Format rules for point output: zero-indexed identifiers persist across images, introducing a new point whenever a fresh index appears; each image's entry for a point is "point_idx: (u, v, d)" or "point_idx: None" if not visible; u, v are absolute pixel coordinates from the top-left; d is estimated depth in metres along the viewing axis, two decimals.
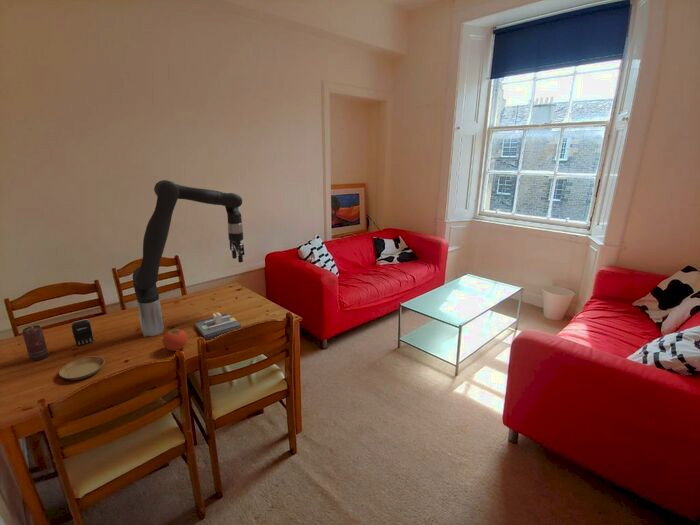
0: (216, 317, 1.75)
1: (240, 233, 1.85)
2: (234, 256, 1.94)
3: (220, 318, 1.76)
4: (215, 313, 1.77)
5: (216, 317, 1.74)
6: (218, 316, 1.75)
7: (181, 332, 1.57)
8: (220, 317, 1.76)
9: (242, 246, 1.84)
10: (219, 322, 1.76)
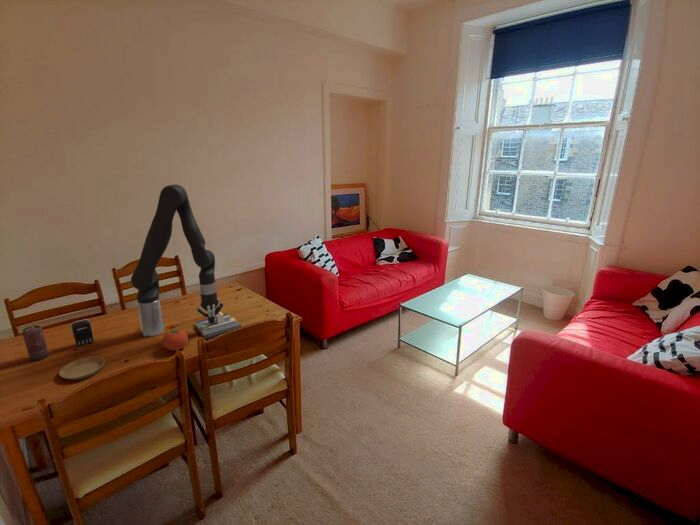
0: (218, 316, 1.75)
1: None
2: None
3: (222, 317, 1.77)
4: None
5: (218, 316, 1.75)
6: (220, 315, 1.76)
7: (181, 332, 1.57)
8: (222, 316, 1.77)
9: None
10: (221, 321, 1.77)
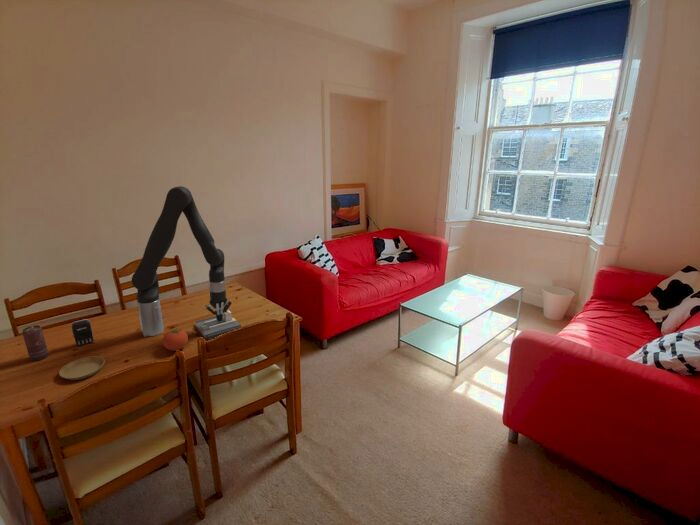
0: (226, 314, 1.78)
1: None
2: None
3: (230, 315, 1.79)
4: None
5: (226, 314, 1.77)
6: (228, 313, 1.78)
7: (181, 332, 1.57)
8: (230, 314, 1.79)
9: None
10: (229, 319, 1.79)
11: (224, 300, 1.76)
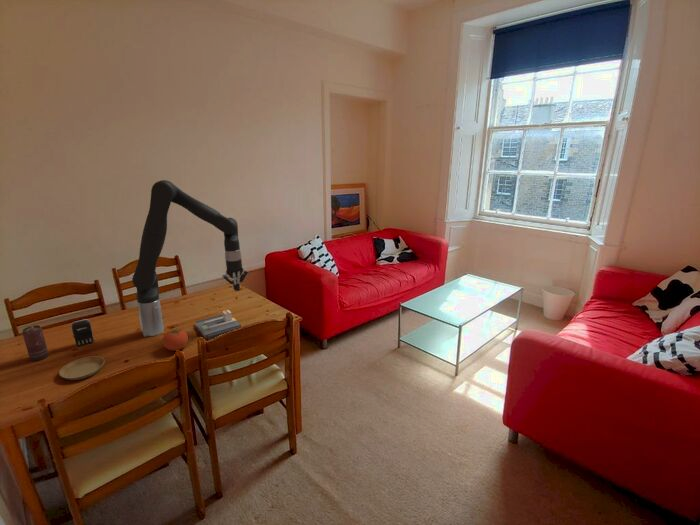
0: (226, 314, 1.78)
1: None
2: None
3: (230, 315, 1.79)
4: (225, 310, 1.80)
5: (226, 314, 1.77)
6: (228, 313, 1.78)
7: (181, 332, 1.57)
8: (230, 314, 1.79)
9: None
10: (229, 319, 1.79)
11: (240, 269, 1.77)
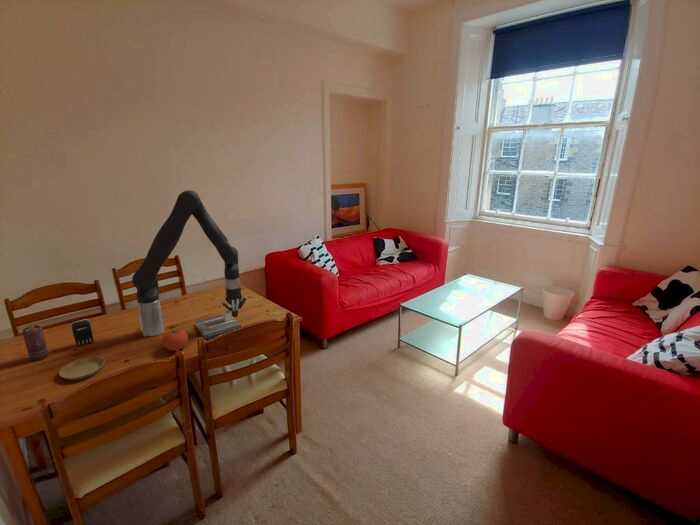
0: (226, 314, 1.78)
1: None
2: None
3: (230, 315, 1.79)
4: (225, 311, 1.80)
5: (225, 314, 1.77)
6: (228, 313, 1.78)
7: (181, 332, 1.57)
8: (230, 314, 1.79)
9: None
10: (229, 319, 1.79)
11: (239, 296, 1.81)
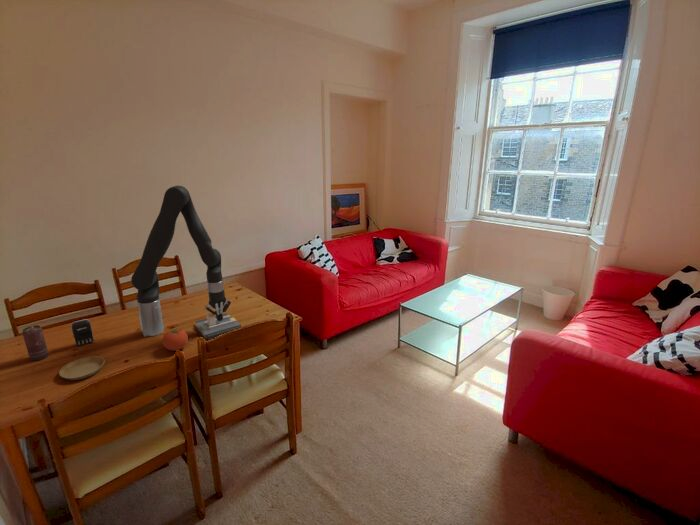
0: (210, 319, 1.73)
1: None
2: None
3: (214, 320, 1.74)
4: (209, 315, 1.75)
5: (209, 318, 1.72)
6: (212, 318, 1.73)
7: (181, 332, 1.57)
8: (214, 319, 1.74)
9: None
10: (213, 324, 1.74)
11: (223, 300, 1.76)
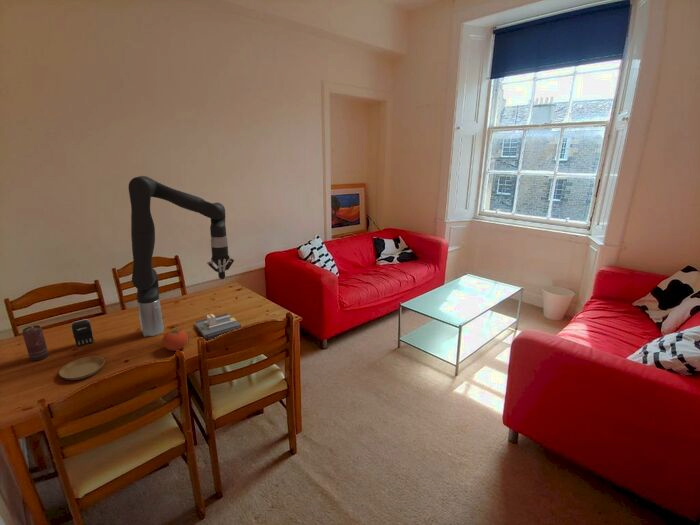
0: (210, 319, 1.73)
1: None
2: None
3: (214, 320, 1.74)
4: (209, 315, 1.75)
5: (209, 318, 1.73)
6: (212, 318, 1.73)
7: (181, 332, 1.57)
8: (214, 319, 1.74)
9: None
10: (213, 324, 1.74)
11: (226, 257, 1.71)
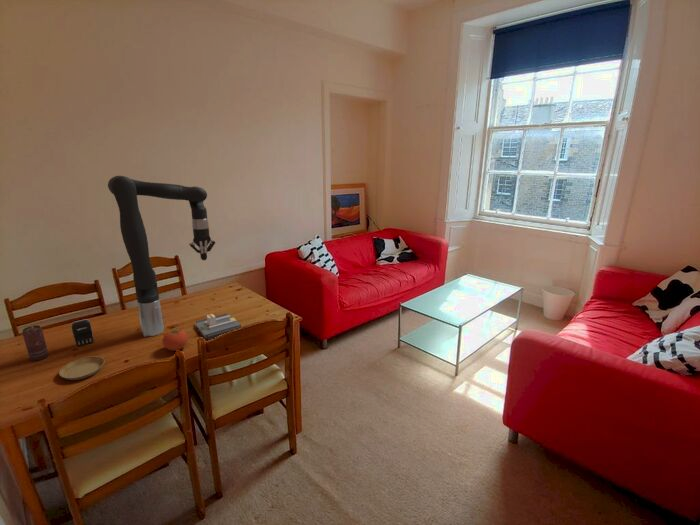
0: (210, 319, 1.73)
1: None
2: None
3: (214, 320, 1.74)
4: (209, 315, 1.75)
5: (209, 318, 1.73)
6: (212, 318, 1.73)
7: (181, 332, 1.57)
8: (214, 319, 1.74)
9: None
10: (213, 324, 1.74)
11: (208, 239, 1.79)
